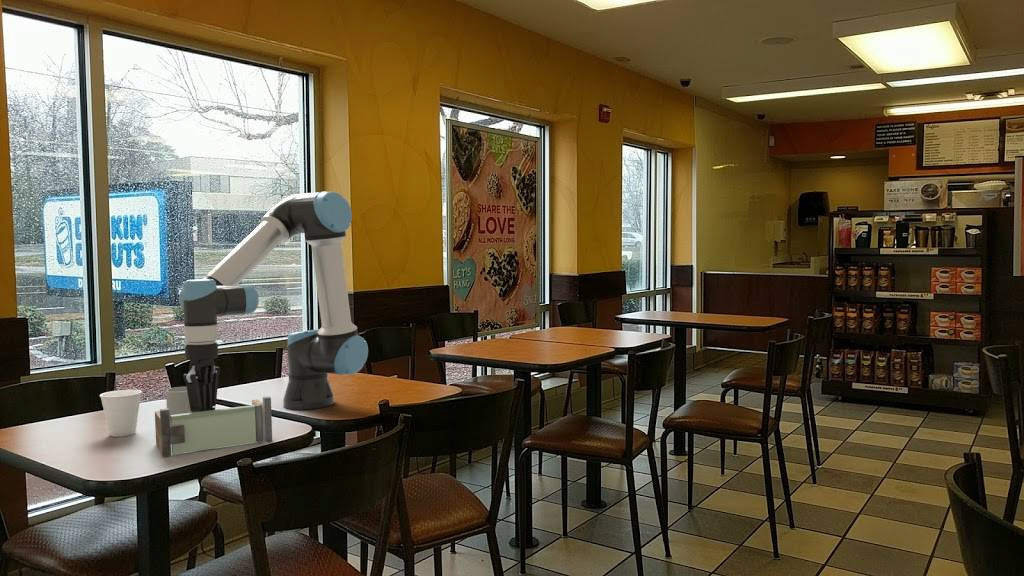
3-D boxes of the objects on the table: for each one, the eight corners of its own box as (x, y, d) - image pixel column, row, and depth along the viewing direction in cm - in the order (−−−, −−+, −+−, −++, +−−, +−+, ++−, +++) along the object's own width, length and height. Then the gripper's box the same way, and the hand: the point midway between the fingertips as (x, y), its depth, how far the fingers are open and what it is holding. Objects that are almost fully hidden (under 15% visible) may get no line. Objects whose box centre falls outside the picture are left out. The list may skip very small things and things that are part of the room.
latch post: (175, 441, 189) (173, 398, 189) (185, 455, 177) (183, 408, 176) (155, 444, 187) (153, 400, 186) (163, 458, 174) (161, 411, 174)
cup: (101, 432, 200) (99, 391, 200) (143, 428, 205) (141, 388, 204) (100, 441, 192) (98, 398, 191) (144, 436, 196) (142, 394, 196)
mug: (201, 431, 200) (199, 390, 200) (166, 434, 197) (164, 393, 197) (203, 421, 212) (201, 383, 211) (170, 424, 209) (168, 385, 208)
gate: (262, 439, 189) (261, 404, 188) (264, 441, 187) (262, 405, 187) (171, 452, 178) (170, 415, 177) (173, 454, 176) (171, 416, 176)
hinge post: (258, 430, 200) (257, 389, 200) (272, 441, 188) (270, 397, 188) (252, 431, 199) (251, 390, 199) (265, 442, 188) (264, 398, 187)
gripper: (201, 339, 191) (204, 431, 192) (171, 345, 178) (174, 444, 179) (229, 339, 190) (232, 431, 191) (200, 345, 177) (204, 445, 178)
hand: (204, 437), depth 185 cm, fingers closed
